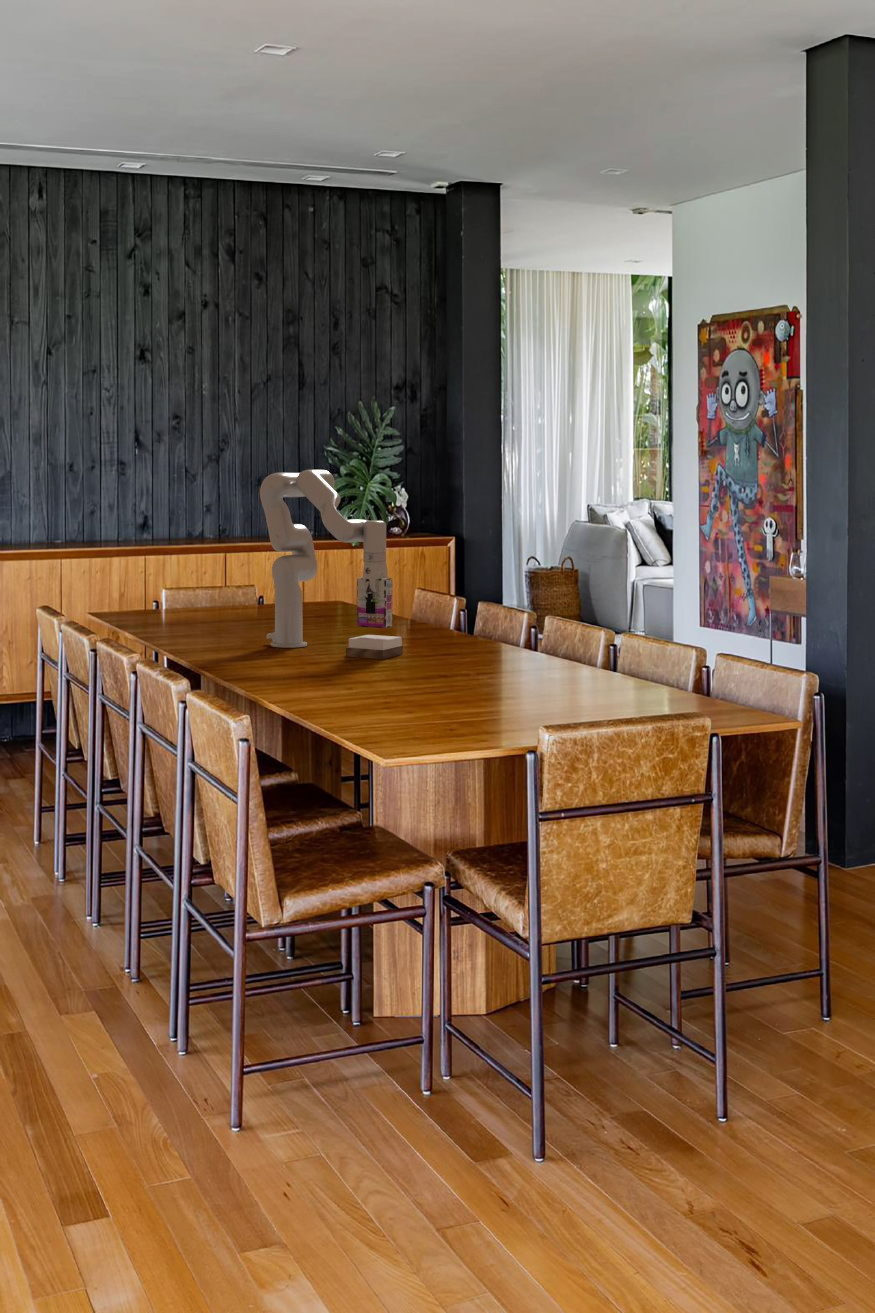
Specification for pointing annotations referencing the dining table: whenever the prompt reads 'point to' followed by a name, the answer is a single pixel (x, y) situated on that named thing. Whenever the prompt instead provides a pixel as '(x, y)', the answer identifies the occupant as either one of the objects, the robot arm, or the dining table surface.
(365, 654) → the walnut base block
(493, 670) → the dining table surface
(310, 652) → the dining table surface
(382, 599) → the candy bar box
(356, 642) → the cream top block
